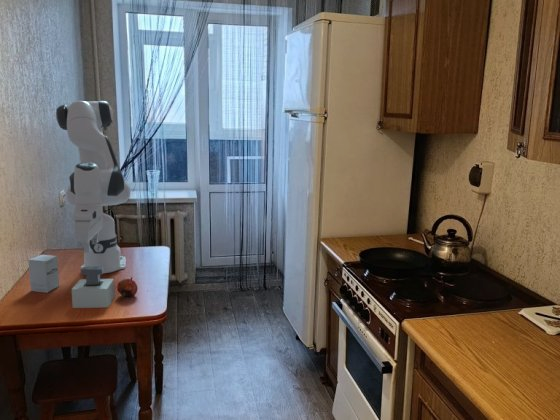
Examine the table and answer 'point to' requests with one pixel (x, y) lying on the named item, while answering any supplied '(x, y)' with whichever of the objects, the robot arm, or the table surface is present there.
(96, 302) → the well block
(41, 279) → the supplement box
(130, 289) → the pomegranate
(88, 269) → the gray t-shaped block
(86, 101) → the robot arm
